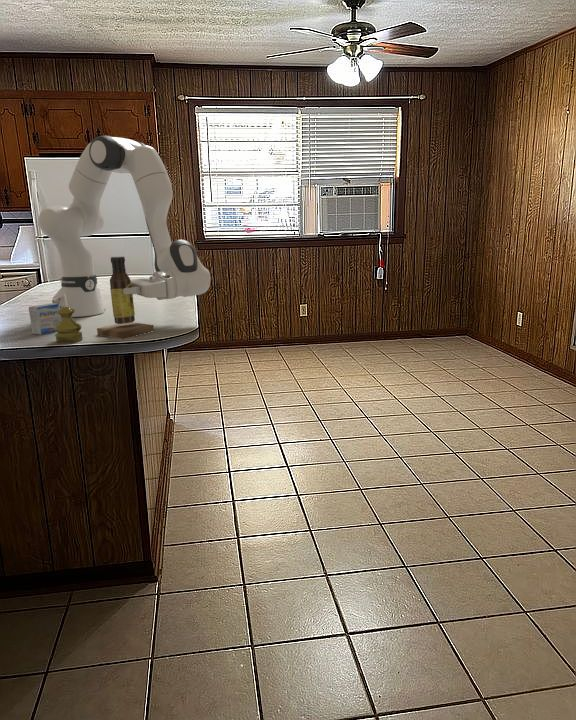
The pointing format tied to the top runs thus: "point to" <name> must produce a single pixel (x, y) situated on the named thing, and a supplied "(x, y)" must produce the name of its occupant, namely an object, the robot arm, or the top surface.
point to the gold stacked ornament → (67, 327)
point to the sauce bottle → (120, 301)
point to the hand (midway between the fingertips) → (118, 290)
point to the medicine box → (44, 318)
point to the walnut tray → (125, 330)
